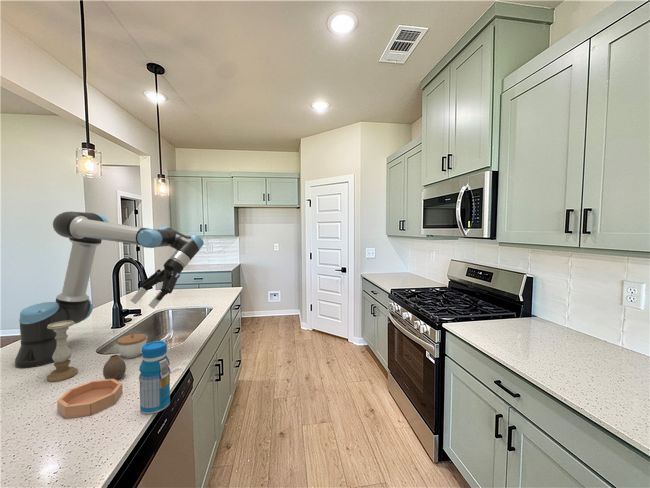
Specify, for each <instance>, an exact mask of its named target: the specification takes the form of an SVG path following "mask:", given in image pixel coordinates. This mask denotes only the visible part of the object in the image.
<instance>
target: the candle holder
mask: <svg viewBox="0 0 650 488" xmlns="http://www.w3.org/2000/svg"><path fill="white" fill-rule="evenodd" d="M74 325H76V324H75V322H74V321H60V322H55V323H51V324H49V325H48V326H47V329H54V332H56V337H55V338H54V339H56V341H57V345H56V349H55V351H54V353H53V356H52V359H53V361H54V362H53V366H54V368H55V369H54V370H52V371H51V372H50V373H49V374H48V375H47V376H46V381H48V382H50V383H53V382H60V381H65V380H67V379H70V378H73V377H75V376H76V375H77V374H78V373H79V370H78V368H76V367H74V366H69V365H70V363H71V359H70V358H71V357H72V354H73V353H72V350H71V349H70V348H69V346H68V342H67V339H68V337H69V334H67V331H68V330H69V327H72V326H74Z"/></svg>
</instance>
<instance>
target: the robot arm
mask: <svg viewBox="0 0 650 488" xmlns="http://www.w3.org/2000/svg"><path fill="white" fill-rule="evenodd" d="M52 228H53V230H54V232H55V233H56V234H57V235H58V236H60V237H63V238H67V239H69V241H70V242H71V243H72V244H71V249H70V255H69V258H68V263H67V266H66V267H67V268H66V272H65V276H64V277H65V278H64V282H63V285H62V286H63V287H62V291H61V293H60V294H57V295H56V297H55V301H46V302H45V301H43V302H41V303H35V304H32V305H29V306H27V307H24V308H23V309H22V310H21V311H20V313H19V320H18V321H19V332H20V347H19V348H18V349H19V350H18V351H17V355H16V357H15V358H14V359H15V360H14V364H15V367H16V368H21V369H25V368H26V369H27V368H34V367H39V366H40V367H42V366H44V365H48V364H51V363H55V361H53V359H52V356H53V353H54V351H55V349H56V345H57V341H56V339H54V338H55V337H56V332H54V329H47V326H48V325H49V324H51V323H55V322H60V321H74V322H75V324H74V325H77V324H79V323H81V322H82V321H85V320H86V319H88V318H89V317H90V316H91V314H92V312H93V310H94V309H93V303H92V301H91V300H90V296H89V295H87V290H88V285H89V281H90V276H91V272H92V268H93V263H94V258H95V253H96V249H97V247H98V246H99V245H101V244H102V241H110V242H116V243H122V244H128V245H130V244H131V245H137V246H141V247H143V248H149V249H154V248H162V247H171V248H173V249H175V251H174V252H173V253H172V255H170V257H169V258H168V259H167V260H166V261H165V262H164V263H163V269H162V270H161V269H157V270H156V271H155V272H154V273H153V274H151V275H150V276H149V277H148V278H146V279H144V281H142V282H141V283H140V284H139V286H140V288H139V289H138V290H137V292H136V293H135V294H133V296H132V297H131V298H130V299H129V301H131V303H133V304H135V305H137V303H139V301H140V300H141V299H142V297H144V296H145V294H146V293H147V292H148V291H149V289H151V288H153V287H155V285H157V284H158V283H162V282H163V283H162V286H161V288H160V290H159V291H158V292H157V293H156V294H155V296H153V297H152V299H151V300H150V301H149V302H148V304H147V305H148V306H149V307H150V308H152V309H153V310H154V309H155V308H156V307H157V306H158V305H159V303H160V302H161V301H162V300H163V299H164V297H165V296H166V295H168V294H172V293H173V291H174V288H175V286H176V283H177V282H178V279H179V278H180V277H181V273H182V272H183V270H184V268H186V267H187V266H188V265H189V263H190V262H191V261H192V260H193V258H194V257H195V256H196V254H198V253H199V251H201V249H202V247H203V246H204V239H202V237H200V236H199V235H198V234H195V233H190V234H189V235H185V234H183V233H181V232H179V231H177V230H175V229H174V228H171V227H169V226H166V225H162V226H161V227H158V229H155V228H149V227H141V226H134V225H126V224H121V223H115V222H110V221H109V220H108V219H107V217H105V216H104V215H102V214H101V213H94V212H86V211H85V212H84V211H83V212H82V211H64V212H61V213H59V214H58V215H56V216H55V217H54V219H53V221H52Z"/></svg>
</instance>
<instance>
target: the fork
mask: <svg viewBox="0 0 650 488" xmlns="http://www.w3.org/2000/svg"><path fill="white" fill-rule="evenodd" d="M190 361H191V359H189V358H185V359H184V360H183V361H182V362H180V364H179V365H177V366H175V367H173V368H172V369H170V374H171V373H172V372H174V371H176V370H182V369H183V368H185V367H186V366H187V365H188V364H189V363H190Z"/></svg>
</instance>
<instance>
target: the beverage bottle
mask: <svg viewBox="0 0 650 488" xmlns="http://www.w3.org/2000/svg"><path fill="white" fill-rule="evenodd" d="M167 352H168V344H167V342H166V341H164V340H156V341H151V342H148V343H147V342H146V344H145V345H143V347H142V352H141V357H142V359H143V360H142V361H141V363H140V365H139V369H138V371H139V376H138V381H139V404H140V405H139V410H140V412H141V413H142V414H147V415H149V414H150V415H151V414H156V413H159V412H162V411H163V410H165V409H166V408H167V407H169V406H170V404H171V382H170V381H171V379H170V376H171V373H170V370H171V368H170V367H169V366H170V362H171V361H170V359H169V358H168V356H167V355H166V354H167Z"/></svg>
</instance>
